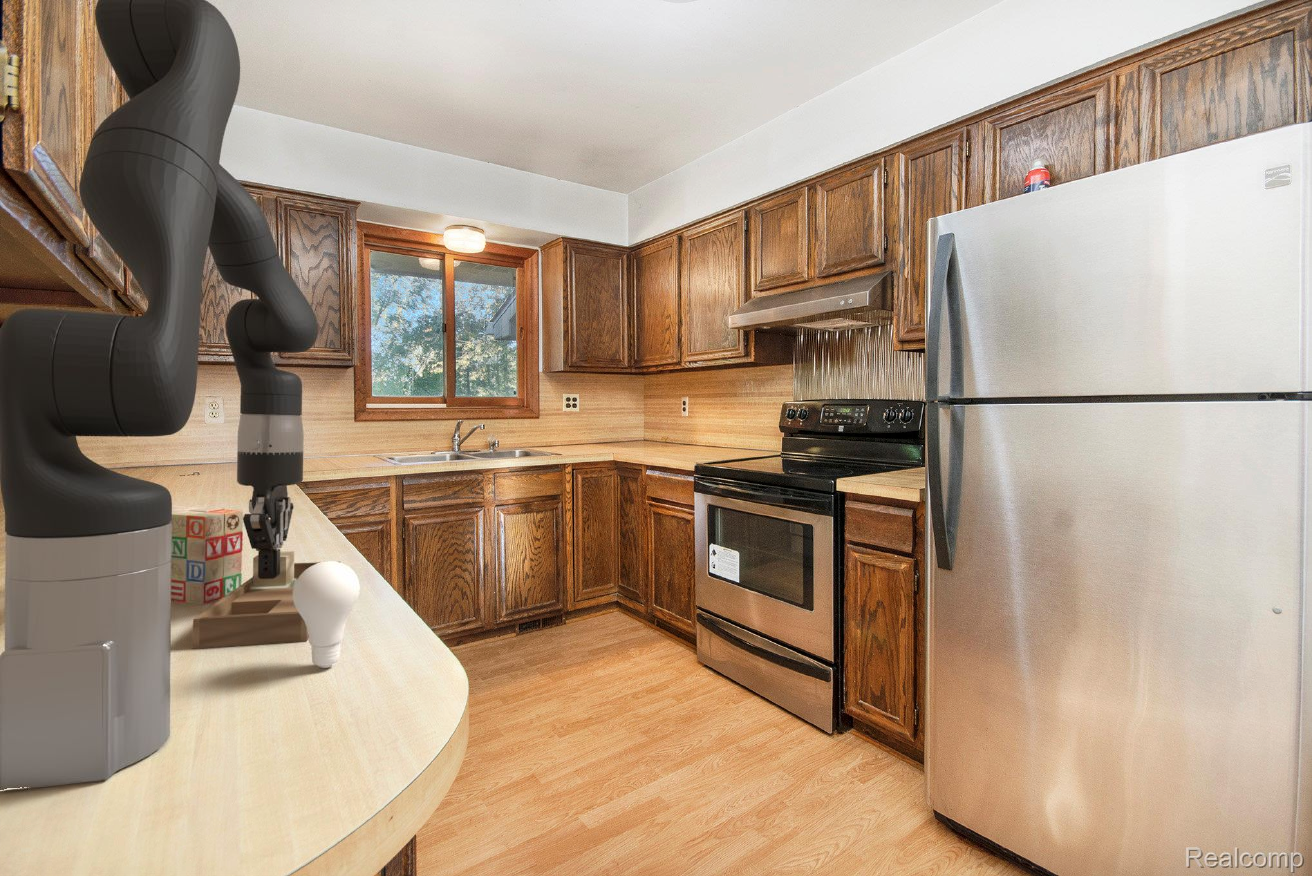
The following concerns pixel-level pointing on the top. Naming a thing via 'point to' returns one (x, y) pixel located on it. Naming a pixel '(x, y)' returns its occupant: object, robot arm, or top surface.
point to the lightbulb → (326, 607)
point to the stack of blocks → (205, 553)
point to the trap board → (252, 616)
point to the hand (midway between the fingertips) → (269, 577)
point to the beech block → (285, 571)
